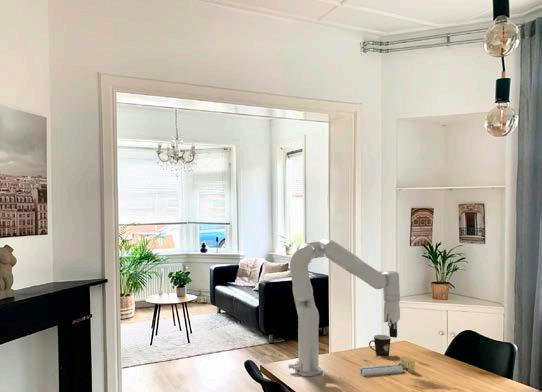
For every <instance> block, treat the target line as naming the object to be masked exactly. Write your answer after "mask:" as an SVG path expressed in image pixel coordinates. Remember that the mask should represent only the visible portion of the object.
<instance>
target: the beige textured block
mask: <svg viewBox="0 0 542 392" xmlns="http://www.w3.org/2000/svg"><path fill="white" fill-rule="evenodd" d="M399 360H400V361H399V363H401V364H402V365H400V366H403V369H407V374H415V371H416V369H415V368H416V367H415V366H416V365H415V364H416V363H415V360H413V359H412V358H410V357H408V356H406V355H405V356H404V355H403V356H402V355H401V356H400V357H399Z"/></svg>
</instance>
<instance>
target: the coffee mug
mask: <svg viewBox="0 0 542 392" xmlns="http://www.w3.org/2000/svg"><path fill="white" fill-rule="evenodd" d="M391 338H392V337H390V335H388V334H387V335H386V334H375V335H373V340H370V341H369V342H368V346H369V348H370V349H372V351H374V352H375V356H376V357H390V348H391ZM372 342H374V348H373V347H372V346H371V343H372Z"/></svg>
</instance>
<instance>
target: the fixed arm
mask: <svg viewBox="0 0 542 392" xmlns="http://www.w3.org/2000/svg"><path fill="white" fill-rule="evenodd" d="M403 372H404V368H403V366H393V367H383V368H373V369H363V370H362V374H361V376H362V377H368V376H369V377H370V376H381V375H388V374H399V373H403Z"/></svg>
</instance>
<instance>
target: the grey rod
mask: <svg viewBox="0 0 542 392" xmlns="http://www.w3.org/2000/svg"><path fill="white" fill-rule="evenodd" d="M400 365H402V364H401V363H400V362H397V363H395V364H384V365H383V364H382V365H376V366H375V365H373V366H372V365H371V366H363V367H362V366H361V367H359V368H358V369H359V374H360V375H362V370H363V369H373V368H383V367H393V366H400Z"/></svg>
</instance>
